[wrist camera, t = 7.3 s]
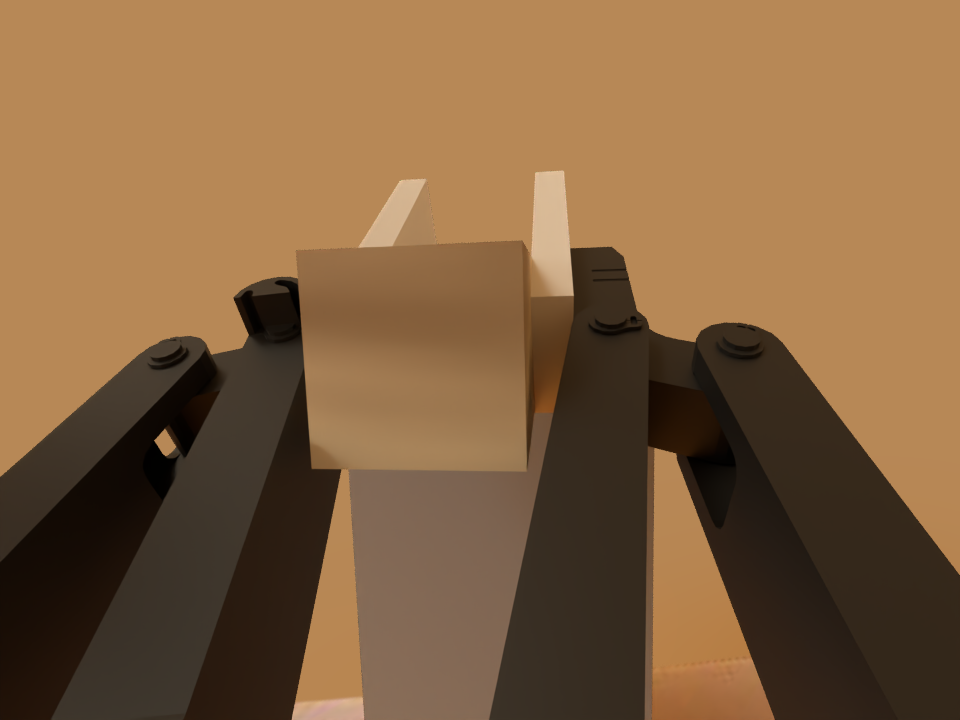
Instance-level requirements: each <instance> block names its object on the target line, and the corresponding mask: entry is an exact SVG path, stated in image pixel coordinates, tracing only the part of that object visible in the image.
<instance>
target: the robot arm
mask: <svg viewBox="0 0 960 720" xmlns="http://www.w3.org/2000/svg"><path fill="white" fill-rule="evenodd" d="M532 235H533V236H532V256H531V257H532V275H531V320H532V345H533V370H534V394H535V413H553V417H552V422H551V427H550V431H549V436H548V441H547V446H546V450H545V455H544V460H543V465H542V469H541V474H540V479H539V484H538V488H537V493H536V498H535V503H534V508H533V512H532V517H531V522H530V527H529V531H528V536H527V541H526V546H525V550H524V555H523V560H522V565H521V569H520V574H519V579H518V584H517V589H516V593H515V598H514V603H513V608H512V612H511V617H510V622H509V627H508V631H507V636H506V641H505V646H504V650H503V655H502V660H501V665H500V670H499V674H498V679H497V684H496V689H495V693H494V698H493V703H492V708H491V712H490V717H489V720H645V651H646V563H647V475H648V446H649V447H653V448H657V449H661V450H665V451H669V452H673V453H676V455H677V461H678V464H679V466H680V469H681V472H682V474H683V476H684V479H685V482H686V485H687V487H688V490H689V492H690V495H691V498H692V500H693V503H694V506H695V509H696V511H697V514H698V517H699V519H700V522H701V525H702V527H703V530H704V532H705V535H706V538H707V540H708V543H709V546H710V548H711V551H712V554H713V556H714V559H715V561H716V564H717V567H718V570H719V572H720V575H721V577H722V580H723V582H724V585H725V588H726V591H727V593H728V596H729V599H730V601H731V604H732V607H733V609H734V612H735V614H736V617H737V620H738V622H739V625H740V627H741V630H742V633H743V636H744V638H745V641H746V644H747V646H748V649H749V651H750V654H751V657H752V660H753V662H754V665H755V668H756V670H757V673H758V676H759V678H760V681H761V684H762V686H763V689H764V691H765V694H766V697H767V699H768V702H769V705H770V707H771V710H772V713H773V715H774V718H775V720H960V575H959V574H958V572H957V571H956V570H955V568H954V567H953V566H952V565H951V563H950V562H949V561H948V559H947V558H946V557H945V555H944V554H943V553H942V551H941V550H940V549H939V548H938V546H937V545H936V544H935V542H934V541H933V540H932V538H931V537H930V536H929V534H928V533H927V532H926V530H925V529H924V528H923V526H922V525H921V524H920V523H919V521H918V520H917V519H916V517H915V516H914V515H913V513H912V512H911V511H910V510H909V508H908V507H907V505H906V504H905V503H904V502H903V500H902V499H901V498H900V496H899V495H898V494H897V492H896V491H895V490H894V488H893V487H892V486H891V484H890V483H889V482H888V481H887V479H886V478H885V477H884V475H883V474H882V473H881V471H880V470H879V469H878V467H877V466H876V465H875V463H874V462H873V461H872V460H871V458H870V457H869V456H868V454H867V453H866V452H865V451H864V449H863V448H862V446H861V445H860V444H859V443H858V441H857V440H856V439H855V437H854V436H853V435H852V433H851V432H850V431H849V429H848V428H847V427H846V426H845V424H844V423H843V422H842V420H841V419H840V418H839V416H838V415H837V414H836V412H835V411H834V410H833V408H832V407H831V406H830V405H829V403H828V402H827V401H826V399H825V398H824V397H823V395H822V394H821V393H820V391H819V390H818V389H817V387H816V386H815V385H814V384H813V382H812V381H811V380H810V378H809V377H808V376H807V374H806V373H805V372H804V370H803V369H802V368H801V366H800V365H799V364H798V363H797V361H796V360H795V359H794V357H793V356H792V355H791V353H790V352H789V351H788V349H787V348H786V347H785V345H784V344H783V343H782V342H781V341H780V340H779V339H778V338H777V337H775V336H774V335H773V334H772V333H770V332H768V331H765V330H763V329H761V328H759V327H756V326H753V325H747V324H743V323H721V324H716V325H711V326H709V327H707V328H706V329H704V330H702V331H701V332H700V334H699V335H698V337H697V338H696V343H695V342H689V341H684V340H678V339H673V338H669V337H665V336H663V335H660V334H657V333H655V332H653V331H652V330H650V329H649V325H648V322H647V319H646V318H645V317H644V316H643V315H642V314H641V313H639V312H638V311H637V309H636V305H635V301H634V297H633V293H632V290H631V285H630V281H629V277H628V273H627V271H626V265H625V261H624V257H623V256H622V255H620V254H619V253H618V252H617V251H616V250H615V249H614V248H612V247H597V248H571V249H570V242H569V230H568V217H567V204H566V192H565V180H564V171H550V172H536V173H535V192H534V214H533V234H532ZM432 244H437V243H436V236H435V229H434V223H433V217H432V209H431V203H430V196H429V190H428V183H427V179H414V180H400V182H399V184H398V185H397V187H396V188H395V190H394V191H393V193H392V195H391V196H390V198H389V199H388V201H387V203H386V204H385V206H384V207H383V209H382V211H381V212H380V214H379V216H378V217H377V219H376V220H375V222H374V223H373V225H372V227H371V228H370V230H369V232H368V233H367V235H366V236H365V238H364V240H363V241H362V243H361V244H360V246H359V248H363V247H386V246H409V245H432ZM234 301H235V303H236V305H237V308H238V310H239V312H240V315H241V317H242V320H243V322H244V325H245V327H246V329H247V332H248V334H249V336H248V338H247V340H246V342H245V344H244V346H243V348H241V349H236V350H232V351H227V352H222V353H218V354H213V355H211V354H210V351H209V349H208V347H207V345H206V343H205V342H204V341H203V340H202V339H200V338H197V337H192V336H185V337H173V338H170V339H166V340H162V341H160V342H159V343H158V344H156V345H153V346H151V347H149V348H148V349H146V350H145V351H144V352H142V353H141V354H139V355H138V356H137V357H136V358H135V359H133V360H132V361H131V362H130V363H129V364H128V365H127V366H125V367H124V368H123V369H122V370H121V371H120V372H119V373H118V374H117V375H115V376H114V377H113V378H112V379H111V380H110V381H108V383H106V384H105V385H104V386H103V387H102V388H101V389H99V390H98V391H97V392H96V393H95V394H94V395H93V396H92V397H90V398H89V399H88V400H87V401H86V402H85V403H84V404H83V405H81V406H80V407H79V408H78V409H77V410H76V411H75V412H74V413H72V414H71V415H70V416H69V417H68V418H67V419H66V420H64V421H63V422H62V423H61V424H60V425H59V426H58V427H57V428H55V429H54V430H53V431H52V432H51V433H50V434H49V435H48V436H46V437H45V438H44V439H43V440H42V441H41V442H40V443H38V444H37V445H36V446H35V447H34V448H33V449H32V450H31V451H29V452H28V453H27V454H26V455H25V456H24V457H23V458H21V459H20V460H19V461H18V462H17V463H16V464H15V465H14V466H12V467H11V468H10V469H9V470H8V471H7V472H6V473H4V474H3V475H2V476H1V477H0V720H291V719H292V714H293V709H294V704H295V699H296V694H297V689H298V684H299V679H300V674H301V669H302V663H303V659H304V653H305V649H306V644H307V639H308V634H309V629H310V624H311V619H312V614H313V609H314V604H315V599H316V594H317V589H318V583H319V579H320V574H321V569H322V564H323V559H324V553H325V549H326V544H327V539H328V533H329V528H330V524H331V518H332V514H333V509H334V503H335V499H336V493H337V488H338V483H339V479H340V473H341V469H312V467H311V453H310V439H309V425H308V411H307V397H306V383H305V369H304V355H303V341H302V327H301V313H300V299H299V285H298V279H297V278H292V277H277V278H271V279H266V280H262V281H260V282H257V283H255V284H251V285H250V286H248V287H246V288H244V289H243V290H241V291H240V292H239V293H238V294H237V295H236V296H235V297H234ZM164 429H166V430H167V432H168V434H169V436H170V437H171V439H172V440H173V442H174V444H175V445H176V448H175V450H174V451H173V452H172V453H171V454H169V455H168V456H165V455H163V454H162V452H161V451H160V449H159V448H158V446H157V444H156V443H155V441H154V440H155V439H156V438H157V437H158V436H159V435H160V433H161V432H162V431H163V430H164Z"/></svg>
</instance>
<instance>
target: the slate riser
mask: <svg viewBox="0 0 960 720" xmlns="http://www.w3.org/2000/svg"><path fill="white" fill-rule="evenodd" d="M552 417H553V413H535V415H534V422H533V430H532V437H531V445H530V453H529V460H528V468H527V472H517V471H440V470H362V469H349V480H350V481H349V482H350V497H351V514H352V530H353V546H354V561H355V577H356V592H357V608H358V624H359V641H360V656H361V672H362V687H363V704H364V720H489V717H490V712H491V708H492V703H493V698H494V693H495V689H496V684H497V679H498V674H499V670H500V665H501V660H502V655H503V650H504V646H505V641H506V636H507V631H508V627H509V622H510V617H511V612H512V608H513V603H514V598H515V593H516V589H517V584H518V579H519V574H520V569H521V565H522V560H523V555H524V550H525V546H526V541H527V536H528V531H529V527H530V522H531V517H532V512H533V508H534V503H535V498H536V493H537V488H538V484H539V479H540V474H541V469H542V465H543V460H544V455H545V450H546V446H547V441H548V436H549V431H550V427H551V422H552ZM653 526H654V448H653V447H649V446H648V475H647V563H646V651H645V720H652V646H653V644H652V643H653V638H652V637H653V531H654V530H653V528H654V527H653Z"/></svg>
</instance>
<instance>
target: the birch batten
mask: <svg viewBox="0 0 960 720" xmlns="http://www.w3.org/2000/svg"><path fill="white" fill-rule="evenodd" d="M296 257H297V270H298V285H299V299H300V313H301V327H302V341H303V355H304V369H305V383H306V397H307V411H308V425H309V439H310V453H311V467H312V469H362V470H440V471H517V472H527V468H528V460H529V453H530V445H531V437H532V430H533V422H534V415H535V394H534V370H533V345H532V320H531V275H532V257H531V255H530V254H529V252H528V250H527V248H526V246H525V245H524V243H523V241H501V242H479V243H455V244H432V245H409V246H386V247H363V248H341V249H319V250H296Z"/></svg>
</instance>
